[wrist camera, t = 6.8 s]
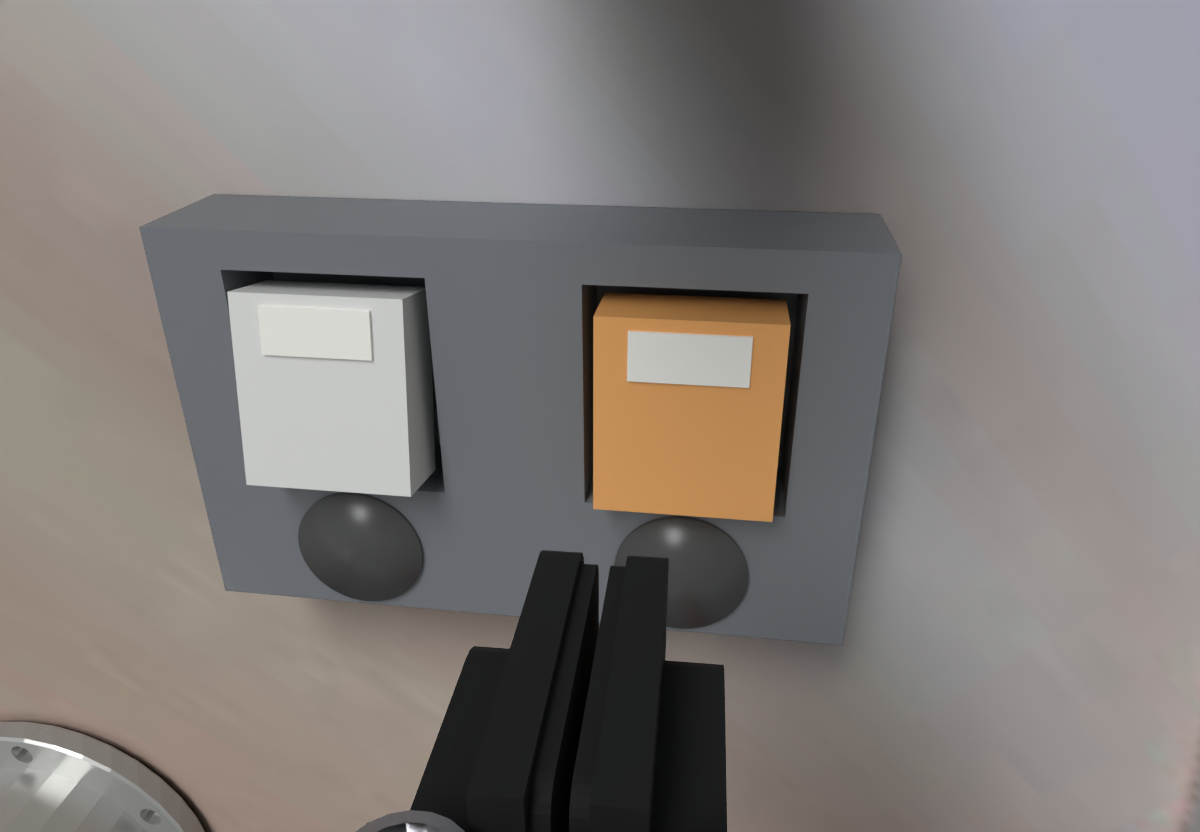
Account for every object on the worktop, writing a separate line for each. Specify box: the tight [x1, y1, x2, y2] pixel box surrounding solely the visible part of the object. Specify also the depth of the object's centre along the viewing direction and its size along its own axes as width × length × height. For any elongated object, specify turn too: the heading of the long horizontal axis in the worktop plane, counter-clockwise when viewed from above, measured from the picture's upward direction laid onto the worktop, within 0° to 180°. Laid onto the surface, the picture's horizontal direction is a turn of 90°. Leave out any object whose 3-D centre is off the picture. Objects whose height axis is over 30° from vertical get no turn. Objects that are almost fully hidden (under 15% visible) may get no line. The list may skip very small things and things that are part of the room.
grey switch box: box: [139, 194, 902, 645], centre depth 25 cm, size 11×18×4 cm, turn 90°
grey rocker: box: [227, 280, 436, 497], centre depth 23 cm, size 5×4×2 cm
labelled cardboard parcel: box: [593, 292, 791, 522], centre depth 22 cm, size 5×4×2 cm
